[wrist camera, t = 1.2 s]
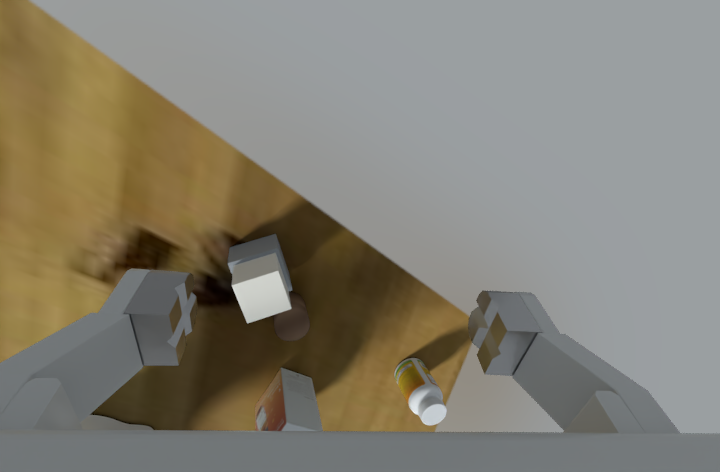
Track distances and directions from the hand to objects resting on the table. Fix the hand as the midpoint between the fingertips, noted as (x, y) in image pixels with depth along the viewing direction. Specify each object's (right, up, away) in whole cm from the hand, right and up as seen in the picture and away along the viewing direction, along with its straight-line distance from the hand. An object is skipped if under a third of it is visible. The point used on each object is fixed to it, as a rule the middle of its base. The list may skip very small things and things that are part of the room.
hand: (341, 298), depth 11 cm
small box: (-11, -22, +48) cm, 54 cm away
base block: (-13, -1, +39) cm, 41 cm away
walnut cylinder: (-9, -8, +43) cm, 44 cm away
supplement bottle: (+9, -21, +53) cm, 57 cm away
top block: (-11, -3, +35) cm, 37 cm away
